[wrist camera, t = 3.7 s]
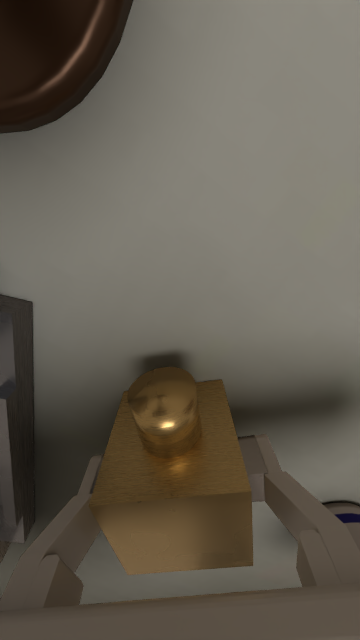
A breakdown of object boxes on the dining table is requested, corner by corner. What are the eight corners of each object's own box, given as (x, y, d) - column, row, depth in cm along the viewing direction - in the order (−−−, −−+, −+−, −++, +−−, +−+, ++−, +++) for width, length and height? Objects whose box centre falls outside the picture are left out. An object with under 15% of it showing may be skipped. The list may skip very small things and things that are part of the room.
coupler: (229, 468, 14) (253, 587, 9) (151, 475, 14) (139, 594, 10) (218, 344, 10) (250, 444, 6) (113, 357, 10) (64, 463, 6)
